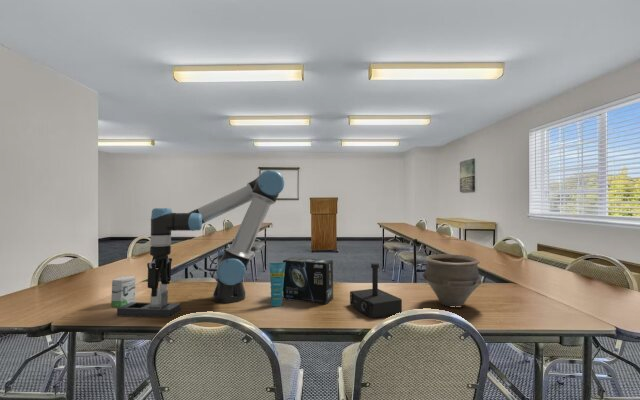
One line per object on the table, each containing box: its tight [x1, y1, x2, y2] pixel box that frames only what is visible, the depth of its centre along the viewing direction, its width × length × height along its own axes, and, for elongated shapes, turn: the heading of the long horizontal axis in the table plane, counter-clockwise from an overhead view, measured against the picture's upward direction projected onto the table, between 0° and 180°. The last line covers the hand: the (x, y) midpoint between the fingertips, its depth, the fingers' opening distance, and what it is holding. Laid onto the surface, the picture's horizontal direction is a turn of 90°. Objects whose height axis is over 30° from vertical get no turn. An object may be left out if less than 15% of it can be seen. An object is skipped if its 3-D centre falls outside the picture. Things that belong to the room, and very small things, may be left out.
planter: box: [422, 253, 483, 307], centre depth 135 cm, size 25×24×22 cm
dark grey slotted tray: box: [116, 301, 182, 319], centre depth 121 cm, size 22×8×3 cm, turn 86°
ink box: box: [110, 275, 137, 308], centre depth 133 cm, size 9×5×12 cm, turn 171°
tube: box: [268, 261, 286, 307], centre depth 133 cm, size 7×5×19 cm, turn 103°
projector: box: [349, 262, 403, 319], centre depth 128 cm, size 19×17×20 cm
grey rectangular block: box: [149, 289, 169, 309], centre depth 121 cm, size 4×4×9 cm
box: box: [282, 257, 334, 305], centre depth 143 cm, size 23×10×19 cm, turn 68°
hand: (159, 301), depth 121 cm, fingers closed on grey rectangular block, 4 cm apart
